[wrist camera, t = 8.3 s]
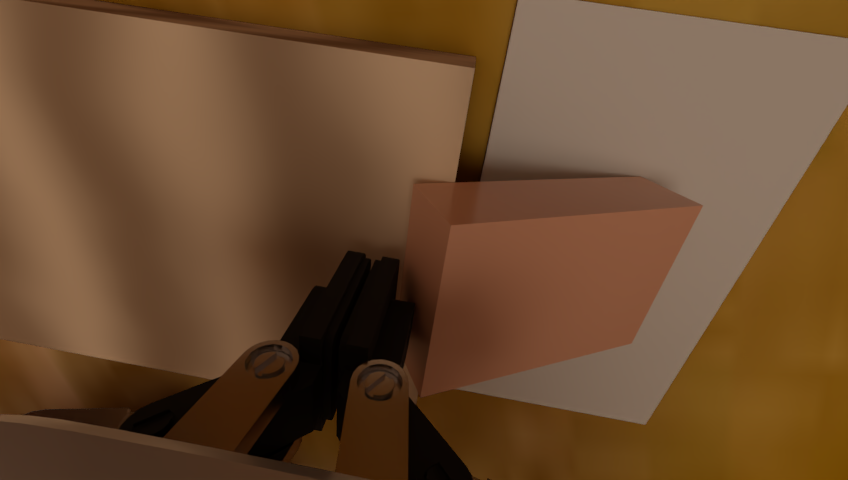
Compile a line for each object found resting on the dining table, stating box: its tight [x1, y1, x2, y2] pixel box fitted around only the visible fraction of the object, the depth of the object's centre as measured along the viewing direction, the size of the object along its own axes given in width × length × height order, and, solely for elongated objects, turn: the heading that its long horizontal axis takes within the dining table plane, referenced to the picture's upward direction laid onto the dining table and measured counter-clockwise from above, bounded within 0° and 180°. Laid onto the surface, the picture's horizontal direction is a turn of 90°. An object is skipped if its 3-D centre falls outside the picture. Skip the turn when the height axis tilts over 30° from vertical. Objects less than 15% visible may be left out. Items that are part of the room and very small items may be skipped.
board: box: [0, 0, 476, 404], centre depth 16 cm, size 22×14×4 cm, turn 83°
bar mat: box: [456, 0, 848, 425], centre depth 17 cm, size 11×18×1 cm, turn 173°
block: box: [400, 176, 703, 398], centre depth 13 cm, size 9×6×2 cm, turn 83°
